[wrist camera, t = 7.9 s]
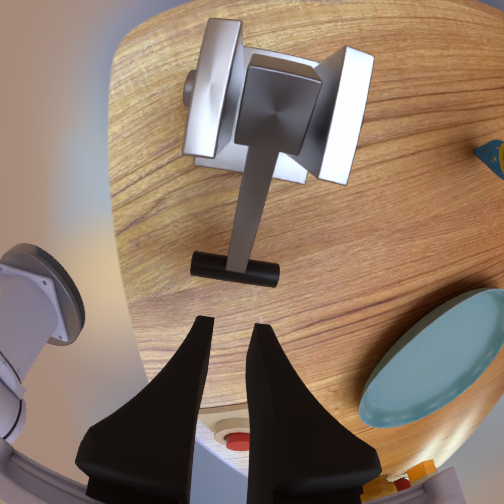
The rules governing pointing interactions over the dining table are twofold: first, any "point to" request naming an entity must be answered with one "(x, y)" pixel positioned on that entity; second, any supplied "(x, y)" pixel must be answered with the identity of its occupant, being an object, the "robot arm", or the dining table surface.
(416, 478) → the orange juice
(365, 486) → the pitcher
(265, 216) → the dining table surface
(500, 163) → the ornament
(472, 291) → the teal plate
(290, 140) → the lever
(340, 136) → the bracket
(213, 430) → the button block
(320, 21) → the dining table surface
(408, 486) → the apple
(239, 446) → the button
